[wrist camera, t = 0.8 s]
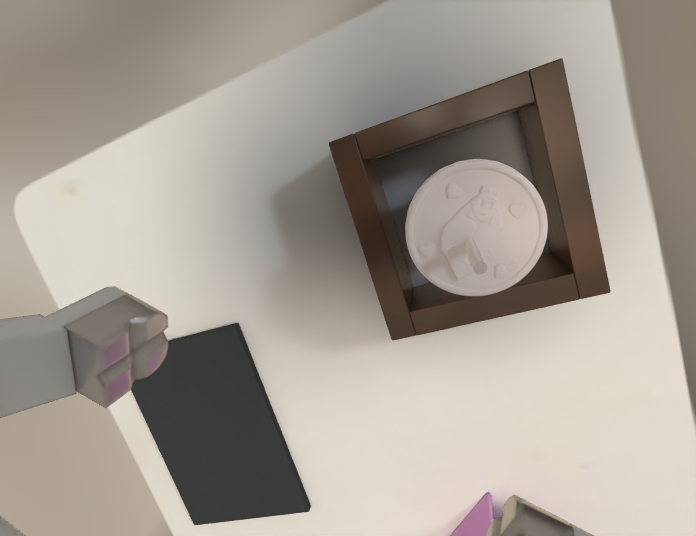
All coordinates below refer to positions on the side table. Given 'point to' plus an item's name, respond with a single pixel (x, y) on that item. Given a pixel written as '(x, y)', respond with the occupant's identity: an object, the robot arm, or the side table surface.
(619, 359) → the side table surface
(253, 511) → the mat
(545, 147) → the crate
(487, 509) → the toy chair
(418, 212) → the smoothie
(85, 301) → the robot arm
